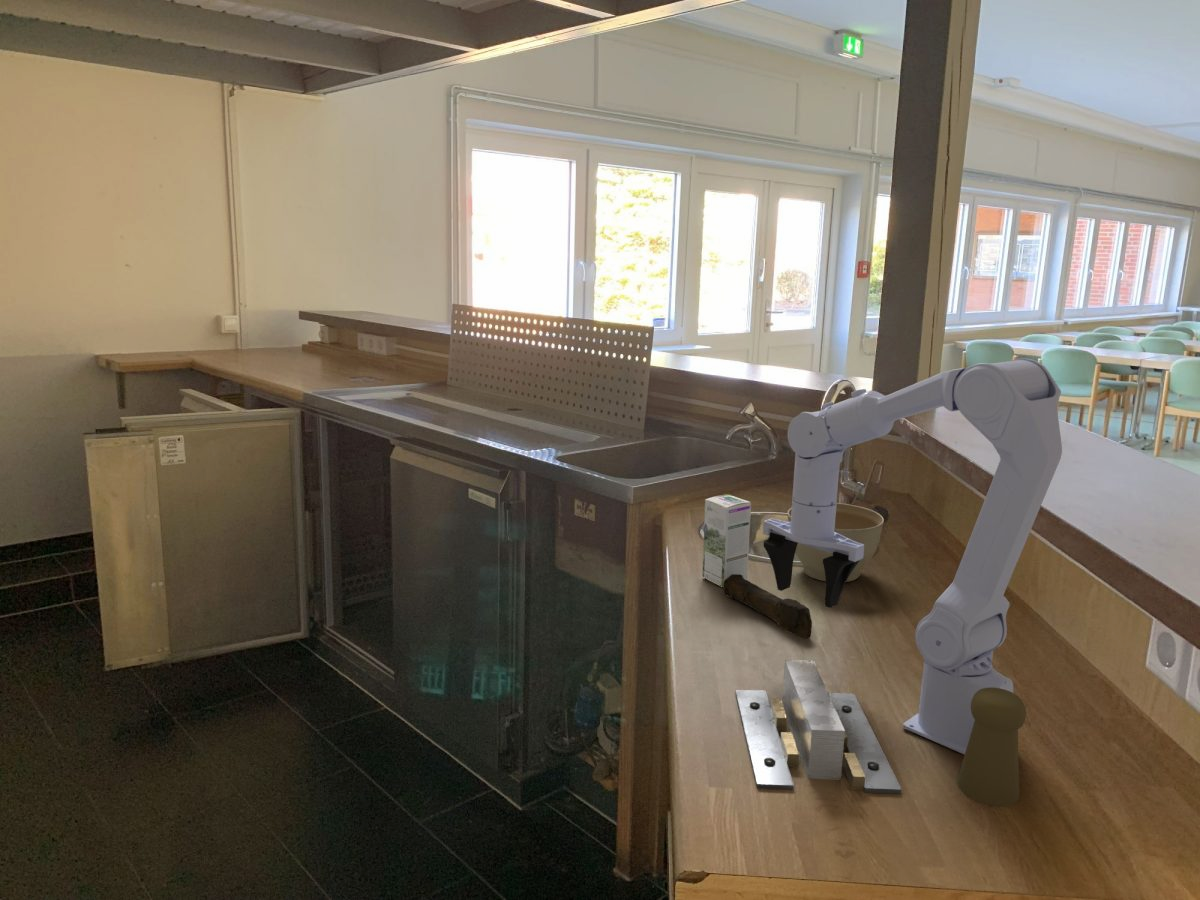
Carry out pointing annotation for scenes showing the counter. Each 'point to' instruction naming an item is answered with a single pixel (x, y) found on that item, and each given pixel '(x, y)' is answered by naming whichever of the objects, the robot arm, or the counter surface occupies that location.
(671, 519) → the counter surface
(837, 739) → the aluminum bar stock
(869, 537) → the planter bowl
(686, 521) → the counter surface
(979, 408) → the robot arm
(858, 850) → the counter surface
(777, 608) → the brown wooden log
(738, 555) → the syrup box
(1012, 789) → the cork
